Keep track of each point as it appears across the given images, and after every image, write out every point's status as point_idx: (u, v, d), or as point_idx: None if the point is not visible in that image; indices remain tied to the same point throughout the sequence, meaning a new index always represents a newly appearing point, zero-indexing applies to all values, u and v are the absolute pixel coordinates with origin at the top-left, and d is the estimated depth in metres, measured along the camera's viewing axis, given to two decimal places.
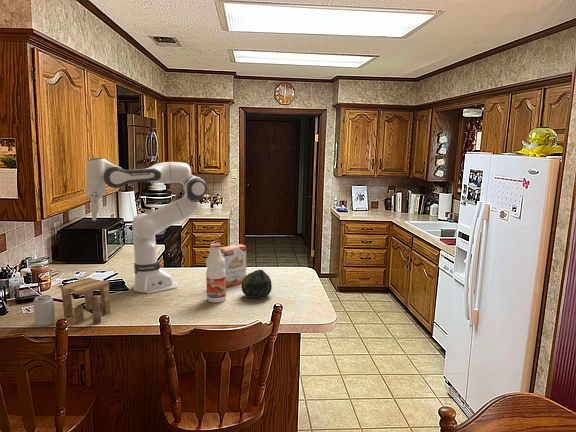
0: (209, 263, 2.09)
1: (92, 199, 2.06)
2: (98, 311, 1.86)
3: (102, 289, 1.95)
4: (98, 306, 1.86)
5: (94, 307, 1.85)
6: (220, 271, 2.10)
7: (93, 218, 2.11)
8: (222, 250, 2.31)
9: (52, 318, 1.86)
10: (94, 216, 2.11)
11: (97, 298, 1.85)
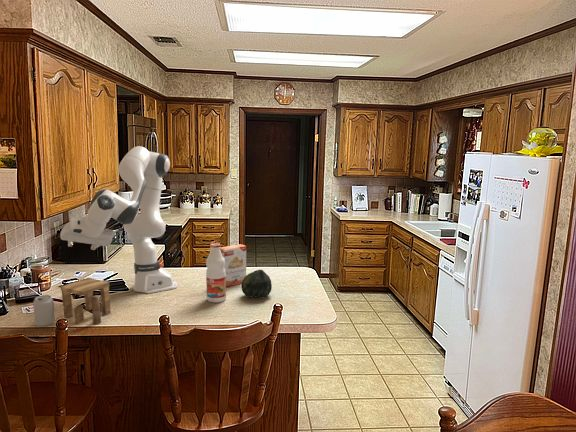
0: (209, 263, 2.09)
1: (112, 236, 1.90)
2: (98, 311, 1.86)
3: (102, 289, 1.95)
4: (98, 306, 1.86)
5: (94, 307, 1.85)
6: (220, 271, 2.10)
7: None
8: (222, 250, 2.31)
9: (52, 318, 1.86)
10: None
11: (97, 298, 1.85)
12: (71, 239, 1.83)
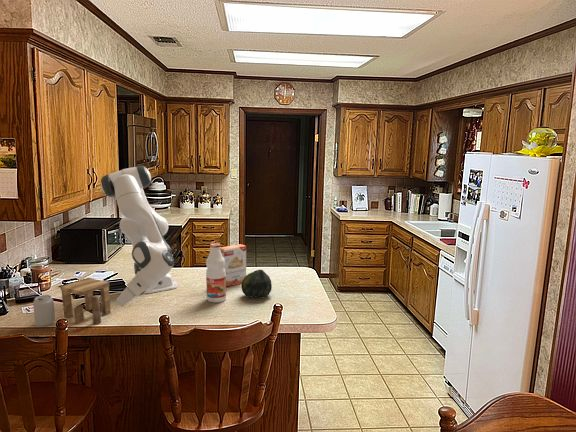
0: (209, 263, 2.09)
1: None
2: (98, 311, 1.86)
3: (102, 289, 1.95)
4: (98, 306, 1.86)
5: (94, 307, 1.85)
6: (220, 271, 2.10)
7: None
8: (222, 250, 2.31)
9: (52, 318, 1.86)
10: None
11: (97, 298, 1.85)
12: None
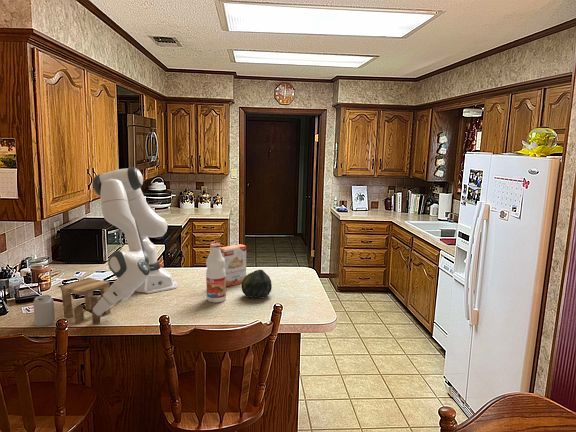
0: (209, 263, 2.09)
1: None
2: None
3: (102, 289, 1.95)
4: None
5: (93, 307, 1.85)
6: (220, 271, 2.10)
7: None
8: (222, 250, 2.31)
9: (52, 318, 1.86)
10: None
11: (96, 298, 1.85)
12: None
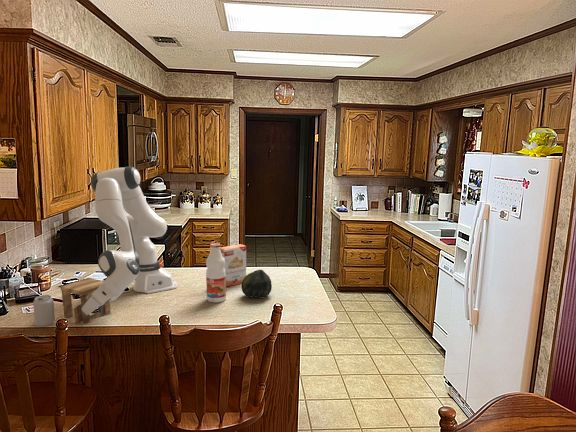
0: (209, 263, 2.09)
1: None
2: None
3: None
4: None
5: (81, 306, 1.86)
6: (220, 271, 2.10)
7: None
8: (222, 250, 2.31)
9: (52, 318, 1.86)
10: None
11: (84, 298, 1.85)
12: None
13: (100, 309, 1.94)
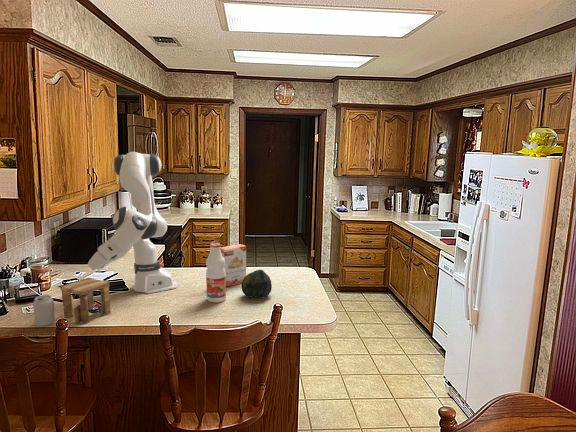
0: (209, 263, 2.09)
1: None
2: (84, 311, 1.86)
3: (102, 289, 1.95)
4: (84, 306, 1.86)
5: (80, 306, 1.86)
6: (220, 271, 2.10)
7: None
8: (222, 250, 2.31)
9: (52, 318, 1.86)
10: None
11: (83, 298, 1.85)
12: (100, 266, 1.77)
13: (100, 309, 1.94)
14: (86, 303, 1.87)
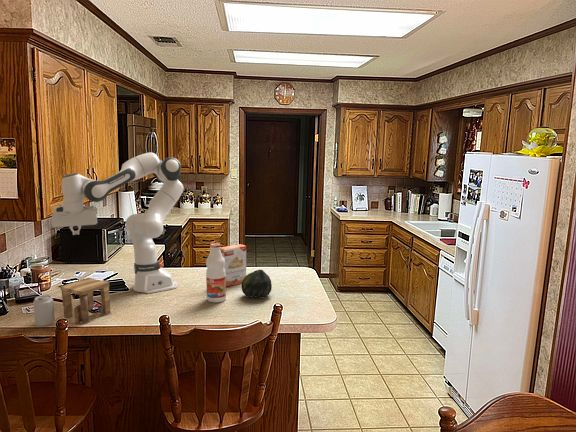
0: (209, 263, 2.09)
1: (95, 212, 2.17)
2: (84, 311, 1.86)
3: (102, 289, 1.95)
4: (84, 306, 1.86)
5: (80, 306, 1.86)
6: (220, 271, 2.10)
7: None
8: (222, 250, 2.31)
9: (52, 318, 1.86)
10: (79, 230, 2.17)
11: (83, 298, 1.85)
12: (61, 224, 2.11)
13: (100, 309, 1.94)
14: (86, 303, 1.87)
